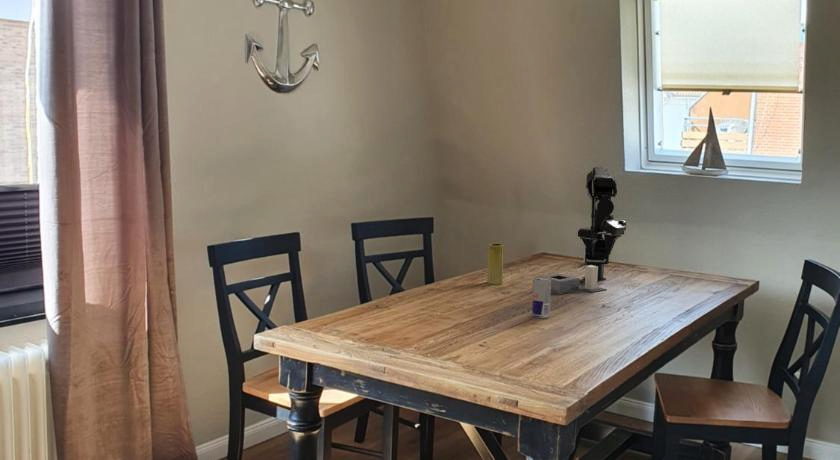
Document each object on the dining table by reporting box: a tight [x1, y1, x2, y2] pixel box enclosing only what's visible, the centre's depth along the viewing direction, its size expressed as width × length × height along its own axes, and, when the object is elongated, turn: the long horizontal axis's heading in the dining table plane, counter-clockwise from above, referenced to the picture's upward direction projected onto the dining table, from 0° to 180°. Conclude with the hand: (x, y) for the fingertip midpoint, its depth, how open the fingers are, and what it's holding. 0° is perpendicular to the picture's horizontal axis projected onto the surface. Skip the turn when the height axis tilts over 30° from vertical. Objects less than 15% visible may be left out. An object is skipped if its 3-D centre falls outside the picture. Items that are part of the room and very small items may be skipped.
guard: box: [539, 273, 580, 295], centre depth 303 cm, size 10×10×4 cm
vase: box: [486, 242, 504, 286], centre depth 311 cm, size 6×6×14 cm
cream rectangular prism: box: [584, 265, 598, 290], centre depth 304 cm, size 3×3×8 cm
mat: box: [579, 285, 608, 294], centre depth 304 cm, size 8×8×1 cm
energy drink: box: [531, 276, 552, 320], centre depth 264 cm, size 5×5×12 cm
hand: (600, 255), depth 304 cm, fingers open, 9 cm apart
